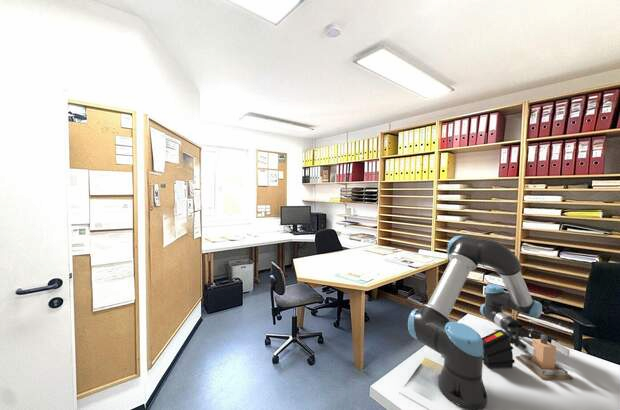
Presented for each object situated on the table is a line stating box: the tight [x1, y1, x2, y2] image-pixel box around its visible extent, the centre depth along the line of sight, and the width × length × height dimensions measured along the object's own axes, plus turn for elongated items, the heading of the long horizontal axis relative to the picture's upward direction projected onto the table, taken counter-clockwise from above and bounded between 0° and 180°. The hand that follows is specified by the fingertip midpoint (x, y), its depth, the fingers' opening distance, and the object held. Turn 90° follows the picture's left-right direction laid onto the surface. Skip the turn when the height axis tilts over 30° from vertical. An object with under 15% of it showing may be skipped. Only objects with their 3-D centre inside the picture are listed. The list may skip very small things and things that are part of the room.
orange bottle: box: [530, 334, 557, 370], centre depth 99 cm, size 5×5×13 cm
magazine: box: [481, 328, 516, 369], centre depth 101 cm, size 4×13×15 cm, turn 92°
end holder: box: [515, 354, 574, 381], centre depth 100 cm, size 12×12×2 cm
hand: (551, 352), depth 96 cm, fingers open, 13 cm apart
